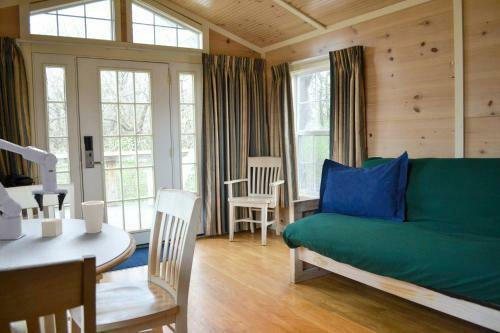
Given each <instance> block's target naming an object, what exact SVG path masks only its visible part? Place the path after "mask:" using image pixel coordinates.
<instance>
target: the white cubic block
mask: <svg viewBox="0 0 500 333" xmlns="http://www.w3.org/2000/svg"><path fill="white" fill-rule="evenodd" d="M62 234H63V219H62V218H47V219H45V220H43V221H41V237H43V238H44V237H47V238H49V237H52V238H53V237H58V236H60V235H62Z"/></svg>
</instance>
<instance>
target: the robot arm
mask: <svg viewBox="0 0 500 333" xmlns="http://www.w3.org/2000/svg"><path fill="white" fill-rule="evenodd" d="M0 149H2V150H6V151H9V152H13V153H17V154H18V155H19V154H20V155H22V156H21V157H22V158H23V159H24V160H28V161H30V162H34V163H36V164H41V176H42V177H41V182H42V183H41V184H42V189H33V190H31V195H32V196H33V198H34V200H35V201H36V204H37V206H38V208H39V212H43V211H44V195H47V196H48V195H57V196H56V197H57V202H58V203H57V204H58V211H62V210H63V205H64V204H63V203H64V201H65V198H66V196H67V194H69V190H68V189H67V188H66V189H65V188H63V189H61V188H60V189H59V188H58V180H57V179H58V178H57V177H58V176H57V166H56V165H57V164H58V161H59V160H58V158H57V156H56V155H55V154H54V153H51V152H50V153H49V152H47V150H46V149H44V150H42V149H39V148H36V146H35V145H31V146H29V145H28V146H25V147H24V146H21V145H19V144H15V143H12V142H10V141H7V140H4V139H1V138H0ZM0 211H1V212H2V214H1V216H0V240H3V241H4V240H18V239H20V238H23V237H25V236H27V233H23V227H22V214H21V213H22V205H21V204H20V203H18V202H17V201H15V200H14V199H13V197H12V196H11V195H10V194H9V192H8V191H7V189H6V188H5V187H4V185H3V184H2V182H0Z"/></svg>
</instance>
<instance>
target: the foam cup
mask: <svg viewBox="0 0 500 333" xmlns="http://www.w3.org/2000/svg"><path fill="white" fill-rule="evenodd" d="M80 205H81V207H80V208H81V211H82V216H83V221H84V227H85V228H84V229H85V232H86V234H98V233H101V232H102V231H103V220H104V219H103V218H104V209H105V201H104V200H89V201H84V202H81V204H80ZM101 230H102V231H101ZM100 231H101V232H100ZM97 232H98V233H97Z"/></svg>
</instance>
